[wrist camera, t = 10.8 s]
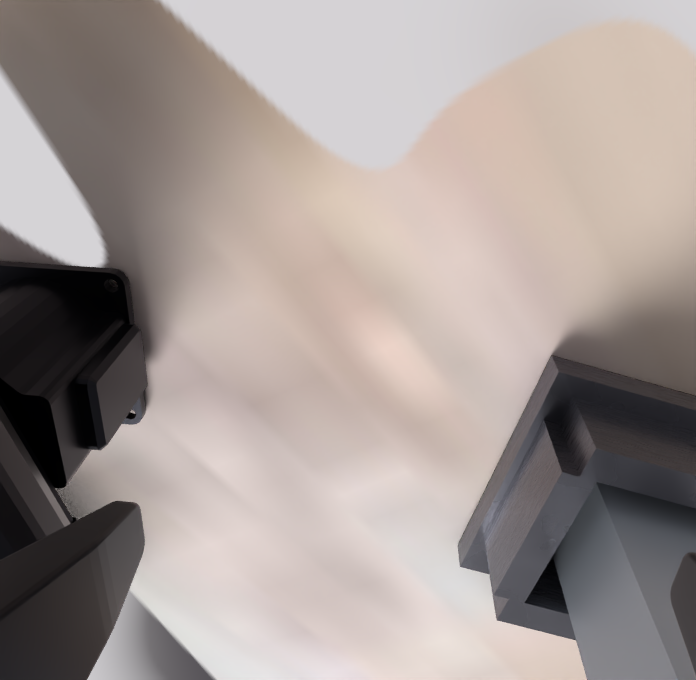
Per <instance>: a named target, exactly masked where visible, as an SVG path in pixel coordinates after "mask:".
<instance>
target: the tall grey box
mask: <svg viewBox="0 0 696 680" xmlns="http://www.w3.org/2000/svg"><path fill="white" fill-rule="evenodd" d="M689 552H695V553H696V508H692V507H688V506H685V505H681V504H677V503H674V502H670V501H666V500H662V499H659V498H655V497H651V496H648V495H644V494H640V493H637V492H633V491H629V490H626V489H622V488H618V487H614V486H611V485H607V484H603V483H600V482H597V483H596V484H595V486H594V488H593V489H592V491H591V493H590V494H589V496H588V498H587V499H586V501H585V503H584V504H583V506H582V508H581V509H580V511H579V513H578V514H577V516H576V518H575V519H574V521H573V523H572V524H571V526H570V528H569V529H568V531H567V533H566V534H565V536H564V538H563V539H562V541H561V543H560V544H559V546H558V548H557V549H556V551H555V553H554V554H553V559H554V562H555V566H556V569H557V573H558V577H559V580H560V584H561V587H562V591H563V594H564V598H565V602H566V605H567V609H568V612H569V616H570V620H571V623H572V627H573V630H574V634H575V637H576V641H577V645H578V648H579V652H580V655H581V659H582V663H583V666H584V670H585V673H586V677H587V680H696V676H695V673H694V670H693V667H692V664H691V661H690V658H689V655H688V652H687V649H686V646H685V643H684V640H683V637H682V634H681V631H680V628H679V625H678V623H677V620H676V617H675V614H674V611H673V608H672V604H671V599H670V591H671V586H672V583H673V581H674V578H675V576H676V573H677V571H678V568H679V566H680V563H681V561H682V558H683V556H684V555H685V554H687V553H689Z"/></svg>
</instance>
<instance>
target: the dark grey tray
mask: <svg viewBox="0 0 696 680" xmlns="http://www.w3.org/2000/svg"><path fill="white" fill-rule="evenodd" d="M597 482H600V483H603V484H607V485H611V486H614V487H618V488H622V489H626V490H629V491H633V492H637V493H640V494H644V495H648V496H651V497H655V498H659V499H662V500H666V501H670V502H674V503H677V504H681V505H685V506H688V507H692V508H696V396H694V395H690V394H686V393H683V392H679V391H676V390H672V389H669V388H665V387H662V386H658V385H655V384H651V383H647V382H644V381H640V380H637V379H633V378H630V377H626V376H623V375H619V374H616V373H612V372H608V371H605V370H601V369H598V368H594V367H591V366H587V365H584V364H580V363H577V362H573V361H569V360H566V359H562V358H559V357H555V356H552V355H551V357H550V359H549V362H548V364H547V366H546V368H545V370H544V372H543V374H542V376H541V378H540V380H539V382H538V384H537V386H536V388H535V390H534V392H533V394H532V396H531V398H530V400H529V402H528V404H527V406H526V408H525V410H524V412H523V414H522V416H521V418H520V420H519V422H518V424H517V426H516V428H515V430H514V432H513V434H512V437H511V439H510V441H509V443H508V445H507V447H506V449H505V451H504V453H503V455H502V457H501V459H500V461H499V463H498V465H497V467H496V469H495V471H494V473H493V475H492V477H491V479H490V481H489V483H488V485H487V487H486V489H485V491H484V493H483V495H482V497H481V499H480V501H479V503H478V505H477V507H476V509H475V511H474V514H473V516H472V518H471V520H470V522H469V524H468V526H467V528H466V530H465V532H464V534H463V536H462V538H461V540H460V542H459V544H458V552H459V562H460V567H463V568H467V569H471V570H475V571H479V572H483V573H487V574H490V580H491V587H492V593H493V599H494V606H495V612H496V618H497V620H498V621H502V622H506V623H510V624H514V625H518V626H522V627H526V628H530V629H534V630H538V631H542V632H546V633H549V634H553V635H557V636H561V637H565V638H569V639H573V640H576V637H575V634H574V630H573V627H572V623H571V620H570V616H569V612H568V609H567V605H566V602H565V598H564V594H563V591H562V587H561V584H560V580H559V577H558V573H557V569H556V566H555V562H554V559H553V554H554V553H555V551H556V549H557V548H558V546H559V544H560V543H561V541H562V539H563V538H564V536H565V534H566V533H567V531H568V529H569V528H570V526H571V524H572V523H573V521H574V519H575V518H576V516H577V514H578V513H579V511H580V509H581V508H582V506H583V504H584V503H585V501H586V499H587V498H588V496H589V494H590V493H591V491H592V489H593V488H594V486H595V484H596V483H597Z"/></svg>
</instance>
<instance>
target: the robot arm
mask: <svg viewBox="0 0 696 680" xmlns="http://www.w3.org/2000/svg"><path fill="white" fill-rule="evenodd" d="M109 279H112V280H114V281H115V282H117V284H118V288H114V287H112V286H111V285H110V283H109ZM147 385H148V383H147V375H146V367H145V359H144V351H143V343H142V335H141V330H140V329H139V328H138V326H137V325H136V324H135V323H134V315H133V308H132V300H131V292H130V284H129V280H128V277H127V276H126V275H125V274H124V273H123V272H122V271H120V270H117V269H111V268H96V267H81V266H66V265H51V264H36V263H20V262H5V261H0V680H87V679H88V677H89V675H90V673H91V671H92V669H93V667H94V665H95V664H96V662H97V660H98V658H99V656H100V654H101V652H102V650H103V648H104V647H105V645H106V643H107V640H108V639H109V637H110V635H111V633H112V631H113V629H114V626H115V624H116V621H117V619H118V617H119V614H120V611H121V609H122V606H123V603H124V601H125V598H126V596H127V593H128V591H129V588H130V586H131V583H132V581H133V578H134V575H135V573H136V570H137V568H138V565H139V562H140V560H141V557H142V554H143V551H144V545H145V537H144V530H143V523H142V516H141V510H140V507H139V505H138V504H137V503H134V502H123V501H115V502H112V503H110V504H108V505H106V506H104V507H102V508H100V509H98V510H96V511H94V512H93V513H91V514H89V515H87V516H85V517H83V518H81V519H79V520H77V518H75V517H71V515H70V513H69V512H68V510H67V508H66V506H65V505H64V503H63V501H62V500H61V498H60V496H59V495H58V493H57V491H56V489H55V488H64V487H65V486H66V485H67V484H68V482H69V481H70V479H71V478H72V476H73V475H74V474H75V472H76V471H77V469H78V468H79V467H80V465H81V464H82V462H83V461H84V460H85V458H86V457H87V455H88V454H89V452H90V451H91V450H102V449H103V448H104V447H105V446H106V445H107V444H108V443H109V442H110V440H111V439H112V437H113V436H114V434H115V433H116V431H117V430H118V428H119V427H120V425H121V424H137V423H139V422H140V421H141V419H142V418H143V416H144V415H145V411H146V408H145V400H144V390H145V389H146V387H147ZM131 409H132V410H133V411H135V413H136V414H133V413H131V412H130V411H131ZM670 599H671V604H672V608H673V611H674V614H675V617H676V620H677V623H678V625H679V628H680V631H681V634H682V637H683V640H684V643H685V646H686V649H687V652H688V655H689V658H690V661H691V664H692V667H693V670H694V673H695V676H696V553H695V552H689V553H687V554H685V555H684V556H683V558H682V561H681V563H680V566H679V568H678V571H677V573H676V576H675V578H674V581H673V583H672V586H671V591H670Z"/></svg>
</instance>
